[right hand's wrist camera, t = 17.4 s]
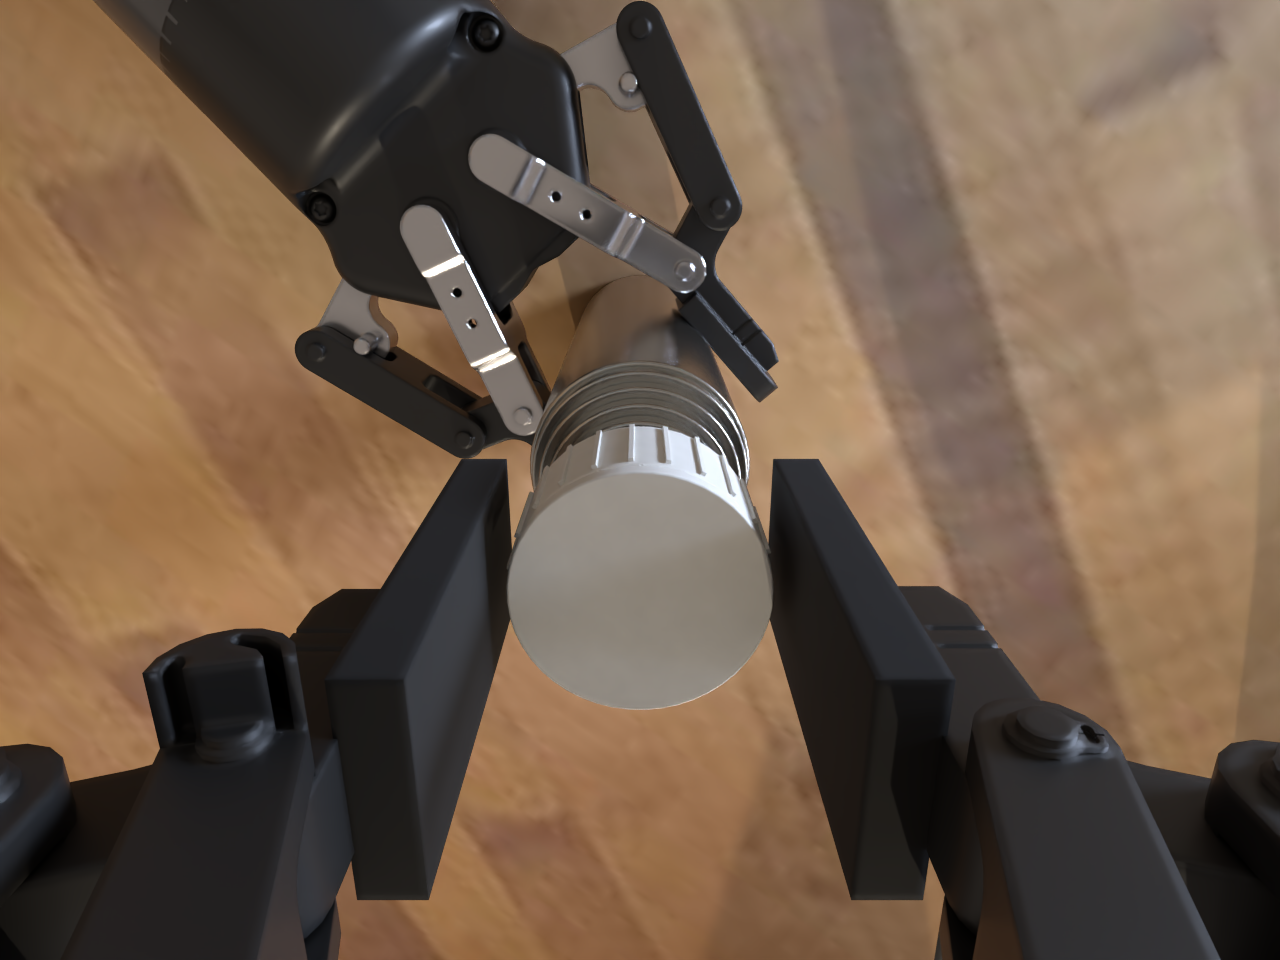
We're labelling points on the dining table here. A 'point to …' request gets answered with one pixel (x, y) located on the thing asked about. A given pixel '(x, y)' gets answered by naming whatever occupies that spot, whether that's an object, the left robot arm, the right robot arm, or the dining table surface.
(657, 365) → the bottle
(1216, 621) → the dining table surface
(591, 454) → the cap
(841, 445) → the dining table surface
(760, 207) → the dining table surface
